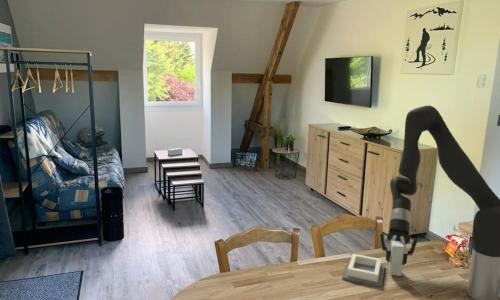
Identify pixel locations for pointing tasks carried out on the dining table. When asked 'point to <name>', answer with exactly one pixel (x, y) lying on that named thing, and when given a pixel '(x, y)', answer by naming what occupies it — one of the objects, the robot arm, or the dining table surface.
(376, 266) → the socket plate
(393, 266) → the skincare box
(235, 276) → the dining table surface
